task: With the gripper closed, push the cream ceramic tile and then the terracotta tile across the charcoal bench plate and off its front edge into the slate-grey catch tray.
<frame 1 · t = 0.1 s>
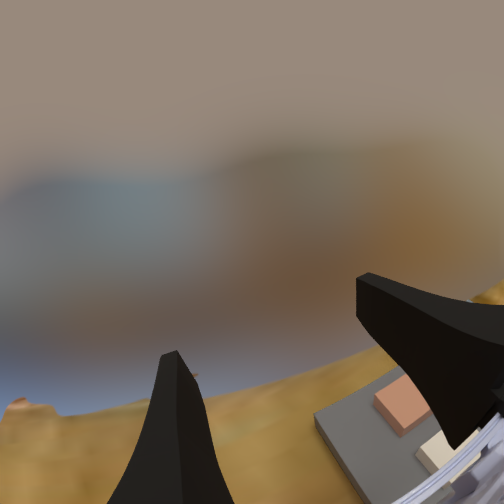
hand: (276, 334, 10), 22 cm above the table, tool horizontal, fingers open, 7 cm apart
cream tile: (450, 455, 15), point 3 cm above the table, touching bench plate
bench plate: (412, 447, 19), on the table
terracotta tile: (406, 407, 22), point 3 cm above the table, touching bench plate
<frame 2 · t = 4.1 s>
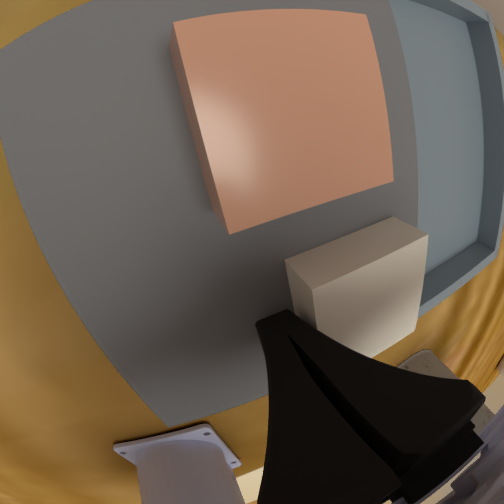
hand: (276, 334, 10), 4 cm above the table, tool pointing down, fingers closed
cream tile: (348, 288, 11), point 3 cm above the table, touching gripper
bench plate: (241, 201, 12), on the table
catch tray: (444, 140, 14), on the table
grey canister: (399, 382, 25), on the table
terracotta tile: (274, 107, 8), point 3 cm above the table, touching bench plate
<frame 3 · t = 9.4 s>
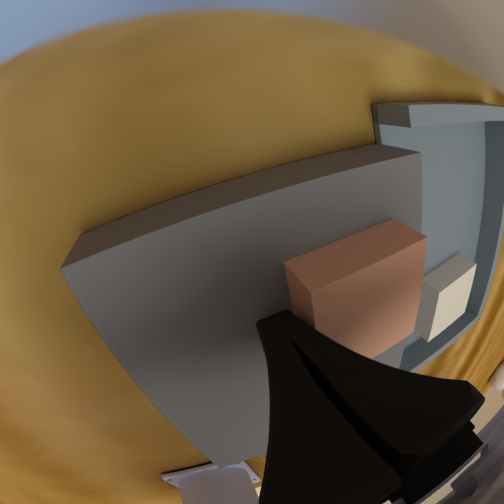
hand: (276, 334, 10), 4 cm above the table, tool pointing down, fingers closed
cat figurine: (496, 368, 56), on the table
cream tile: (453, 303, 17), point 2 cm above the table, tilted 180°, touching catch tray
bench plate: (278, 329, 15), on the table
catch tray: (443, 242, 17), on the table
terracotta tile: (347, 290, 11), point 3 cm above the table, touching gripper
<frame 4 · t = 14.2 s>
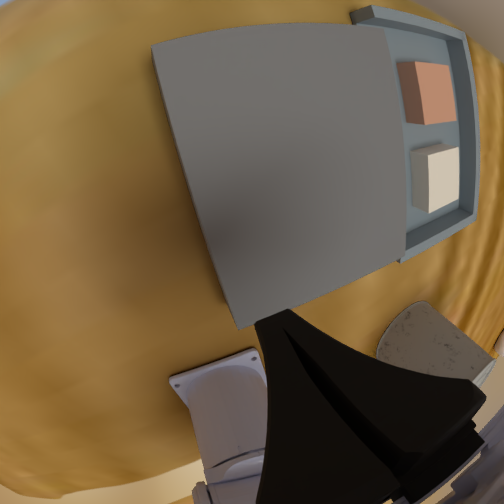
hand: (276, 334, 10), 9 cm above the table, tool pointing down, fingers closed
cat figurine: (500, 334, 59), on the table
cream tile: (445, 178, 20), point 2 cm above the table, tilted 180°, touching catch tray
bench plate: (295, 161, 18), on the table
catch tray: (426, 128, 20), on the table
grey canister: (404, 332, 31), on the table
terracotta tile: (438, 92, 16), point 2 cm above the table, tilted 180°, touching catch tray
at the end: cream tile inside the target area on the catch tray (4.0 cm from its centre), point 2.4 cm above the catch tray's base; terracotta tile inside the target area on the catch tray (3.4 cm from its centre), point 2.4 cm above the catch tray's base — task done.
